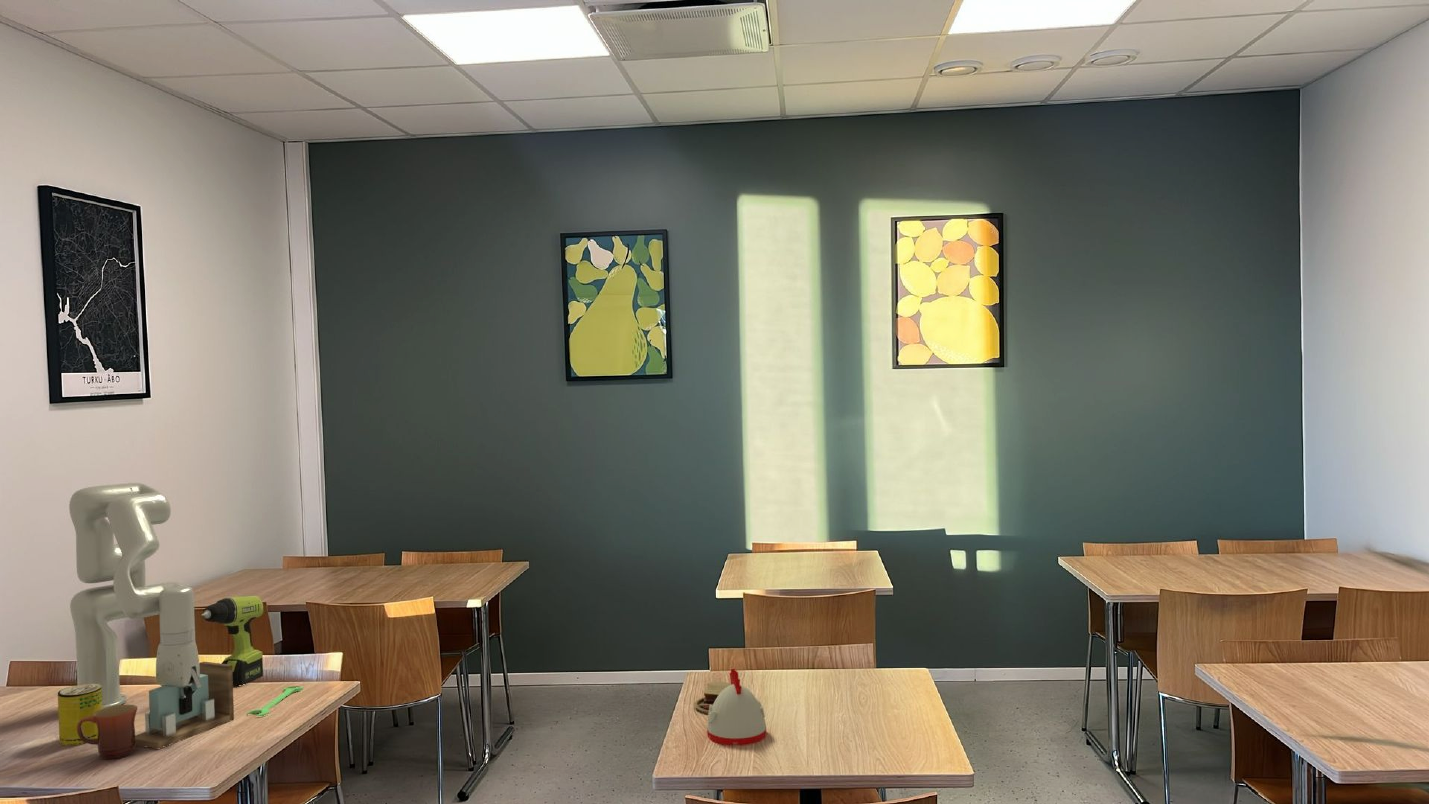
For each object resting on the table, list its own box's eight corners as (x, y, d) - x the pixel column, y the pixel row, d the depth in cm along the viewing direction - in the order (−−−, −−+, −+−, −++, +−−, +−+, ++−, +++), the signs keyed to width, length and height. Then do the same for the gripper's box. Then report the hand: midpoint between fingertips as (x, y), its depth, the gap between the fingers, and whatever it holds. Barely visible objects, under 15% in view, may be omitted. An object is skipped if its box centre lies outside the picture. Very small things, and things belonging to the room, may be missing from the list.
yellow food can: (110, 730, 243) (108, 682, 243) (93, 743, 234) (91, 693, 234) (70, 733, 242) (68, 685, 241) (52, 746, 233) (50, 696, 232)
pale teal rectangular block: (159, 729, 233) (157, 691, 233) (150, 728, 235) (148, 690, 234) (209, 710, 246) (207, 675, 246) (200, 709, 248) (199, 673, 247)
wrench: (243, 722, 250) (263, 722, 250) (242, 715, 250) (263, 714, 250) (288, 689, 275) (306, 689, 275) (287, 682, 275) (306, 682, 275)
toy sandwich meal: (687, 713, 247) (686, 695, 247) (705, 697, 259) (705, 679, 259) (734, 718, 243) (733, 699, 242) (750, 701, 255) (750, 683, 255)
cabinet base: (159, 749, 229) (156, 689, 229) (128, 744, 233) (126, 685, 233) (234, 719, 249) (232, 664, 249) (205, 715, 253) (203, 661, 252)
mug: (141, 745, 232) (140, 702, 232) (136, 758, 224) (134, 713, 224) (82, 754, 228) (80, 710, 227) (74, 767, 220) (72, 721, 219)
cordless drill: (215, 698, 267) (212, 607, 266) (192, 697, 268) (189, 606, 267) (268, 673, 289) (265, 589, 289) (247, 672, 291) (244, 588, 290)
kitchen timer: (757, 722, 239) (756, 661, 239) (773, 742, 226) (771, 677, 225) (702, 727, 236) (700, 665, 236) (714, 748, 223) (712, 682, 222)
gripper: (140, 639, 240) (142, 713, 240) (188, 644, 234) (191, 721, 234) (167, 631, 247) (169, 704, 247) (215, 636, 240) (217, 711, 241)
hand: (180, 711), depth 240 cm, fingers open, 3 cm apart
